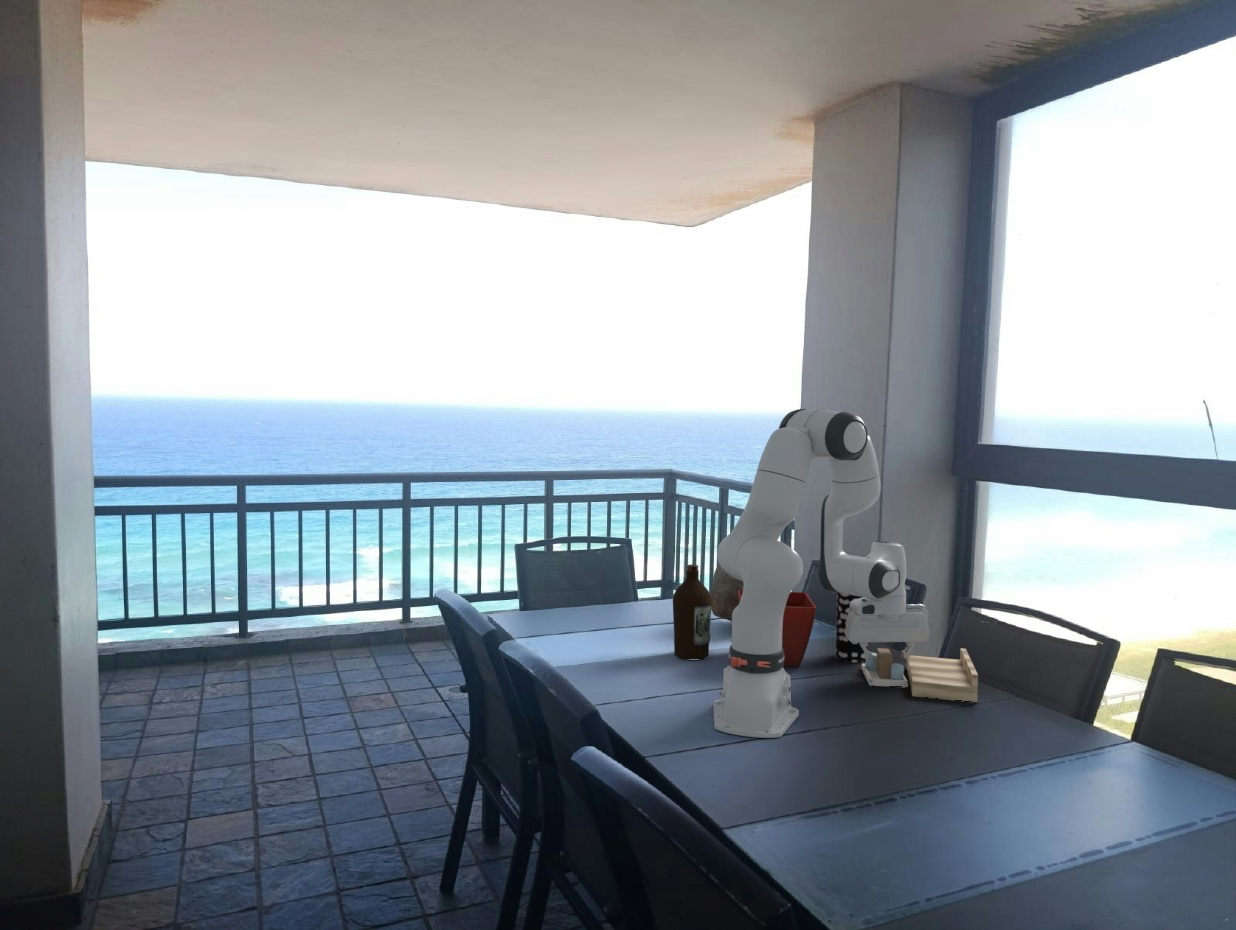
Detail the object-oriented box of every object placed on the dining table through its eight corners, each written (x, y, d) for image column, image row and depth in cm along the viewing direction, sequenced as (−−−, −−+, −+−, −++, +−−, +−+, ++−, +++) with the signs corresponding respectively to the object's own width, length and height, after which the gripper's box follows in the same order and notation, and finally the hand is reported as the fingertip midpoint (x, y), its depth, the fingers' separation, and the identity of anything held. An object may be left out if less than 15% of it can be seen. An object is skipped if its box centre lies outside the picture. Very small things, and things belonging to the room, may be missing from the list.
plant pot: (805, 650, 220) (806, 591, 219) (815, 671, 201) (816, 607, 200) (736, 648, 222) (737, 589, 221) (740, 669, 203) (741, 605, 202)
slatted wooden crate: (977, 702, 179) (978, 675, 179) (912, 696, 184) (913, 668, 183) (964, 673, 200) (965, 648, 200) (906, 668, 205) (907, 643, 204)
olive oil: (664, 655, 215) (665, 565, 213) (689, 647, 222) (690, 560, 221) (693, 663, 207) (694, 570, 206) (718, 655, 214) (720, 565, 213)
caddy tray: (907, 688, 190) (908, 660, 189) (869, 686, 191) (870, 658, 191) (897, 672, 202) (898, 645, 202) (861, 670, 204) (862, 643, 204)
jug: (697, 621, 251) (698, 529, 250) (757, 617, 258) (758, 526, 256) (730, 641, 228) (732, 540, 226) (795, 636, 234) (797, 537, 233)
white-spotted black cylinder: (863, 653, 217) (865, 582, 216) (870, 662, 209) (872, 589, 208) (833, 652, 218) (834, 581, 217) (838, 661, 210) (840, 588, 209)
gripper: (923, 601, 199) (922, 654, 200) (843, 602, 199) (843, 655, 199) (933, 607, 193) (932, 662, 194) (851, 608, 192) (850, 663, 193)
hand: (886, 658), depth 196 cm, fingers open, 8 cm apart
